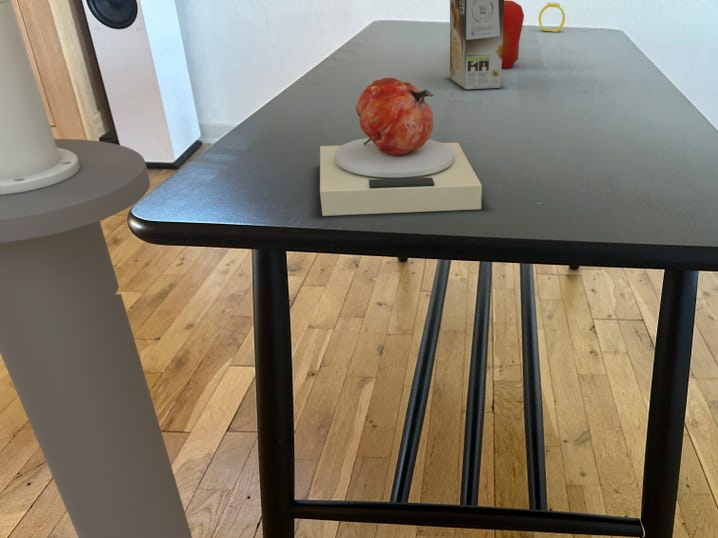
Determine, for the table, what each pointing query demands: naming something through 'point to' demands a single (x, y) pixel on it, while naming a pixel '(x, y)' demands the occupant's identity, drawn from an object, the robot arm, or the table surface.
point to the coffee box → (476, 43)
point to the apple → (511, 32)
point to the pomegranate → (395, 116)
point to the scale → (396, 179)
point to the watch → (552, 6)
